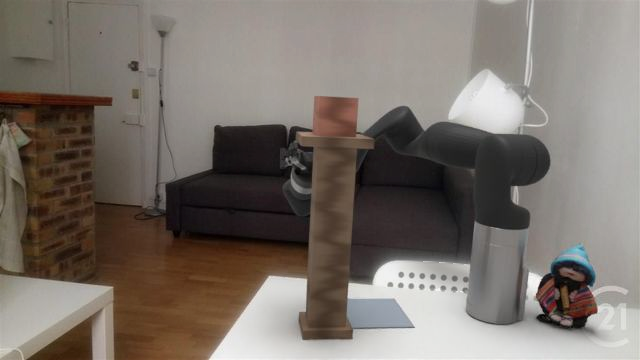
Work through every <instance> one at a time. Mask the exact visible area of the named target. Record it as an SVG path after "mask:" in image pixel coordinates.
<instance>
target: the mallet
mask: <svg viewBox="0 0 640 360" xmlns="http://www.w3.org/2000/svg"><path fill="white" fill-rule="evenodd" d="M358 110H359V97H343V96H324V95H323V96H322V95H314V96H313V113H312V132H313V134H315V135H317V136H335V137H356V134H357V128H358V115H359V114H358V113H359V111H358Z"/></svg>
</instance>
